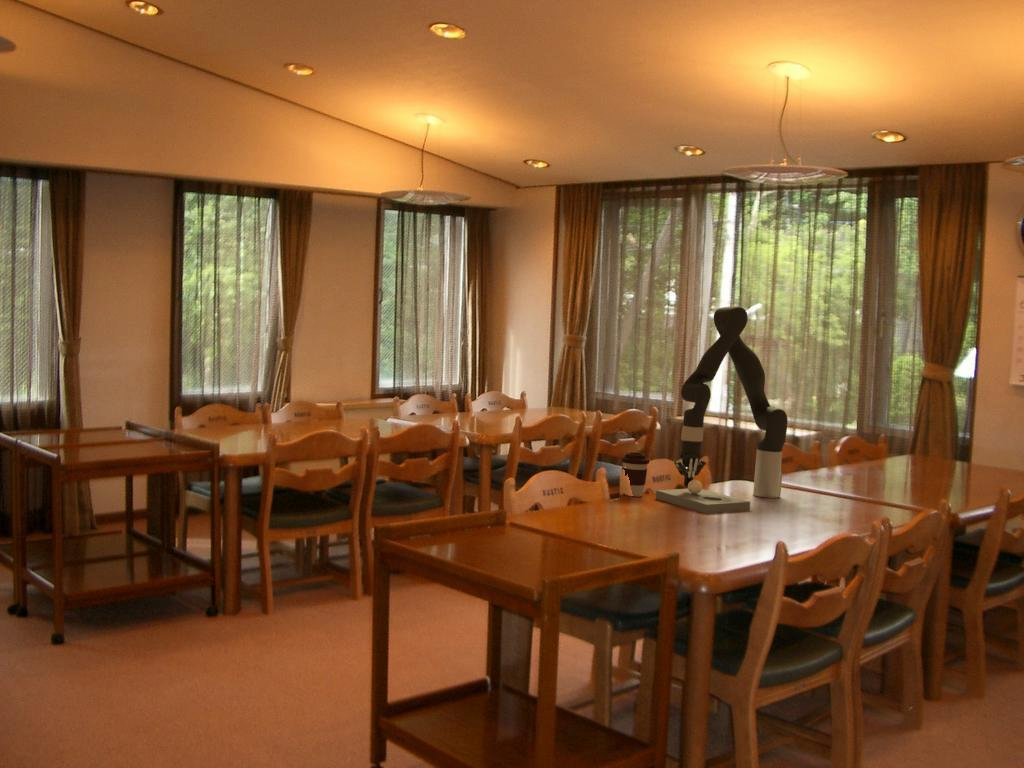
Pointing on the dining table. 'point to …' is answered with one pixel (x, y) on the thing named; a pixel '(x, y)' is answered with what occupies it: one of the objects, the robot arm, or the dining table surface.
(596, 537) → the dining table surface
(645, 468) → the coffee cup
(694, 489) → the ball
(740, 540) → the dining table surface
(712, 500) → the grey flat block
